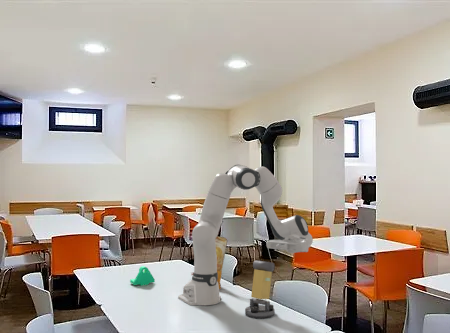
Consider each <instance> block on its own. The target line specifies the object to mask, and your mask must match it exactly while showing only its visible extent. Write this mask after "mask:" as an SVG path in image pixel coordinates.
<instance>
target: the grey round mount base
mask: <svg viewBox="0 0 450 333" xmlns="http://www.w3.org/2000/svg"><path fill="white" fill-rule="evenodd" d="M266 301H267V302H265V305H262V304H258V303H253V297H251V298H249V306H246V308H245V310H244V314H245V316H246V317H248V318H250V319H255V320H267V319H271V318H273V317H275V312H276V310H275V308H274V305H273V304H271V301H268V300H266Z"/></svg>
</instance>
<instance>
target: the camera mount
mask: <svg viewBox="0 0 450 333" xmlns="http://www.w3.org/2000/svg"><path fill="white" fill-rule="evenodd" d="M129 283H130V284H132V285H134V286H137V285H139V286H140V287H141V286H142V287H143V286H148V285H149V284H150V283H155V278H154V276H153V274H152V273H151V271H150V270H149V268H148V267H146V266H145V265H142V266H140V267H139V268H138V273H137V275H136V276H135V278H131V279H130V280H129Z"/></svg>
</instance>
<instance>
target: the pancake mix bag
mask: <svg viewBox="0 0 450 333" xmlns="http://www.w3.org/2000/svg"><path fill="white" fill-rule="evenodd" d="M215 244H216V255H217V272H218V280H217V282H218V285H219V290H221V289H222V286H221V285H222V283H221V279H222V276H223V275H222V274H223V267H224V261H225V257H226V250H227V247H228V246H227V245H228V239H227V238H226V237H223V236H218V235H217V237H216V239H215Z"/></svg>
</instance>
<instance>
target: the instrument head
mask: <svg viewBox="0 0 450 333" xmlns="http://www.w3.org/2000/svg"><path fill="white" fill-rule="evenodd" d="M252 267H253V270H254V271H253V279H252V289H251V295H250V298H253V303H258V304H259V305H264V306H265V302H267V301H268V300H270V294H271V285H272V284H271V283H272V276H273V275H272V274H273V272H274V271H275V267H276V266H275V263H274V262H271V261H262V260H257V259H256V260H254V261H253V263H252Z"/></svg>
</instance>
